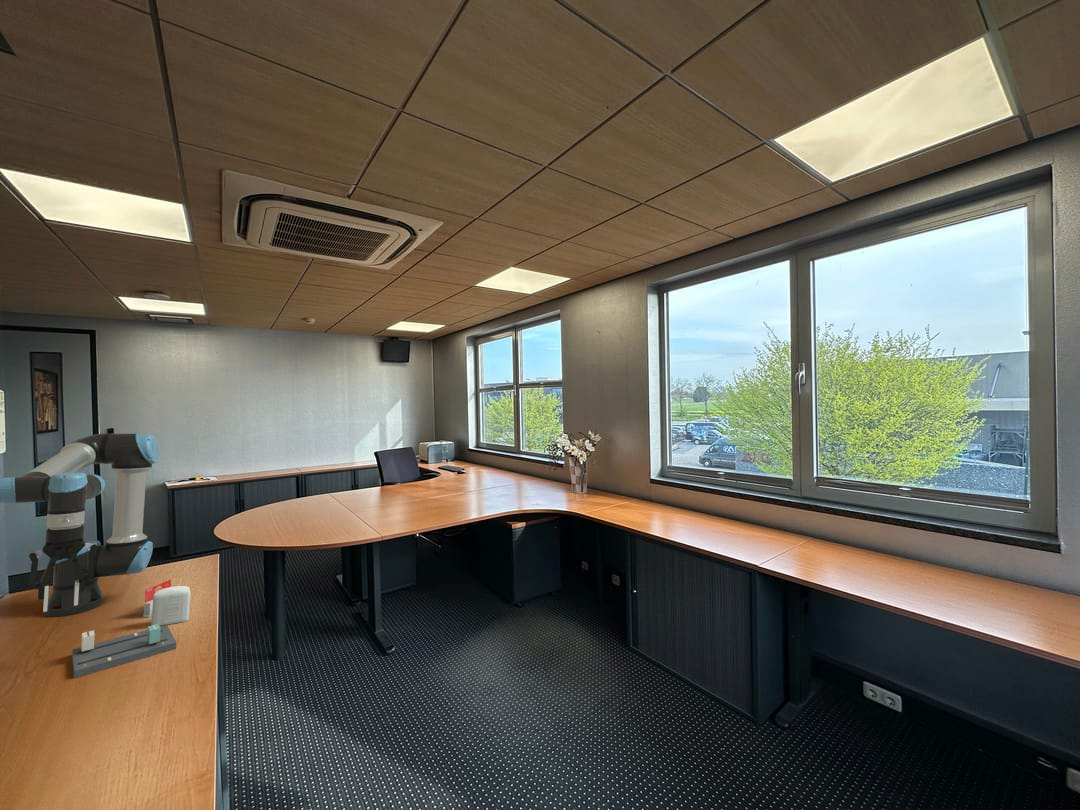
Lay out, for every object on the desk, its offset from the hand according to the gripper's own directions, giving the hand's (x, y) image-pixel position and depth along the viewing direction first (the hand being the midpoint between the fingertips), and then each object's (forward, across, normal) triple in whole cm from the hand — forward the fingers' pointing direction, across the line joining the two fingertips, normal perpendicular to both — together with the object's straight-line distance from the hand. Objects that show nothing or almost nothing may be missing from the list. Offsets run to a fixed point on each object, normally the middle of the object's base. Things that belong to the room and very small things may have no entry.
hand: (60, 606), depth 127 cm
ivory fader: (+14, +6, 0) cm, 16 cm away
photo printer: (+17, +27, +10) cm, 34 cm away
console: (+17, +14, -4) cm, 22 cm away
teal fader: (+14, +20, -8) cm, 26 cm away
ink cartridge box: (+17, +26, +24) cm, 40 cm away
